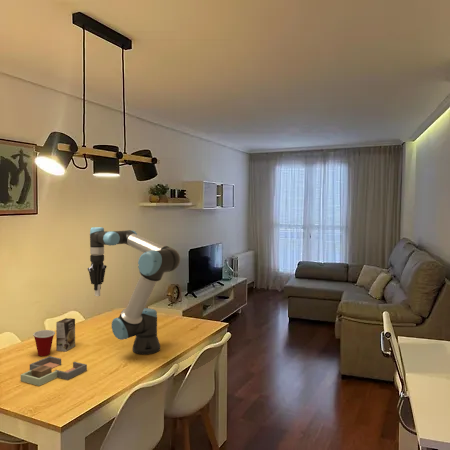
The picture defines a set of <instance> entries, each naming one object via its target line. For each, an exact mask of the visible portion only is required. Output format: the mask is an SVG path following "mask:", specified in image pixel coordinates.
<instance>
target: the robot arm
mask: <svg viewBox="0 0 450 450" xmlns="http://www.w3.org/2000/svg"><path fill="white" fill-rule="evenodd" d="M89 245H90V247H89V249H90V251H89V254H90V256H89V260H90V262H91V263H90V267H88V268H87V272H88V275H89V279H90V284H91V285H93V291H94V296H95V297H100V296H101V290H102V289H101V288H102V284H103V283H104V281H105V275H106V269H107V267H108V266H107V265H106V264H104V261H105V255H104V254H105V246H117V245H128V246H129V247H131V248H134V249H136V250H138V251H139V252H141V253H142V254H141V255H140V256H139V258H138V262H137V265H138V267H137V268H138V271H139V274H140V275H139V277H138V278H139V279H138V280H137V283H136V285H135V287H134V289H133V292H132V294H131V296H130V298H129V301H128V303H127V306H126V307H125V308H124V309H122V310H121V311H120V314H119V316H118V317H115V318H113V319H112V321H111V331H112V333H113V335H114V337H115V338H117V340H121V341H122V340H128V339H130V338H132V337H135V339H134V342H133V344H132V352H133V353H135V354H138V355H152V354H155V353H158V352H159V351H160V350H161V344H160V341H159V338H158V312H157V310H156V309H154V308H150V307H149V308H148V307H146V306H147V303H148V301H149V299H150V297H151V295H152V292H153V290H154V288H155V286H156V283H157V282H160V281H161V280H162V277H163V276H164V274H165V273H168V272H173V271H175V270H176V269H178V267H179V265H180V262H181V256H180V253H179V252H178V251H177V250H176V249H174V248H172V247H170V246H167V245H161V244H159V243H157V242H154V241H152V240H150V239H148V238H146V237H143V236H141V235H138V233H137V231H135V230H133V229H132V230H131V229H128V230H113V231H111V230H110V231H108V230H105V228H104V227H103V226H102V227H99V226H97V227H96V226H94V227H93V226H92V227H91V228H90V231H89Z"/></svg>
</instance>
